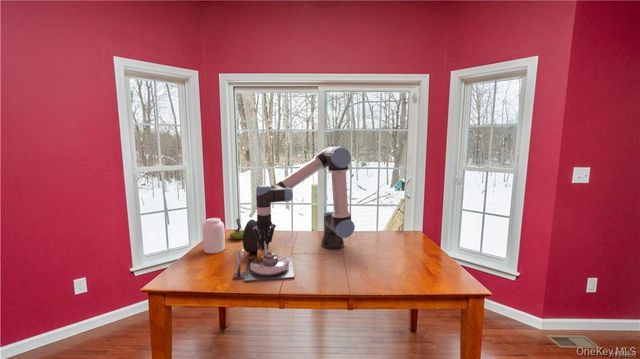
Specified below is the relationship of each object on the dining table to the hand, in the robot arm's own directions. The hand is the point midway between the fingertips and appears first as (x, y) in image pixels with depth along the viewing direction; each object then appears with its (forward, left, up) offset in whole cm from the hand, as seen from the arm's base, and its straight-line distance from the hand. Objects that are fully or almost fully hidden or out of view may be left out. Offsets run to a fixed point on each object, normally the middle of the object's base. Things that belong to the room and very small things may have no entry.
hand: (265, 254), depth 148 cm
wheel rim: (+5, -17, -5) cm, 18 cm away
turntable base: (-3, +8, -5) cm, 10 cm away
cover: (-3, +8, -1) cm, 8 cm away
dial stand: (+12, +14, -5) cm, 19 cm away
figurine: (+20, -44, -5) cm, 49 cm away
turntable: (-3, +8, -3) cm, 9 cm away
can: (+32, -24, -5) cm, 40 cm away
